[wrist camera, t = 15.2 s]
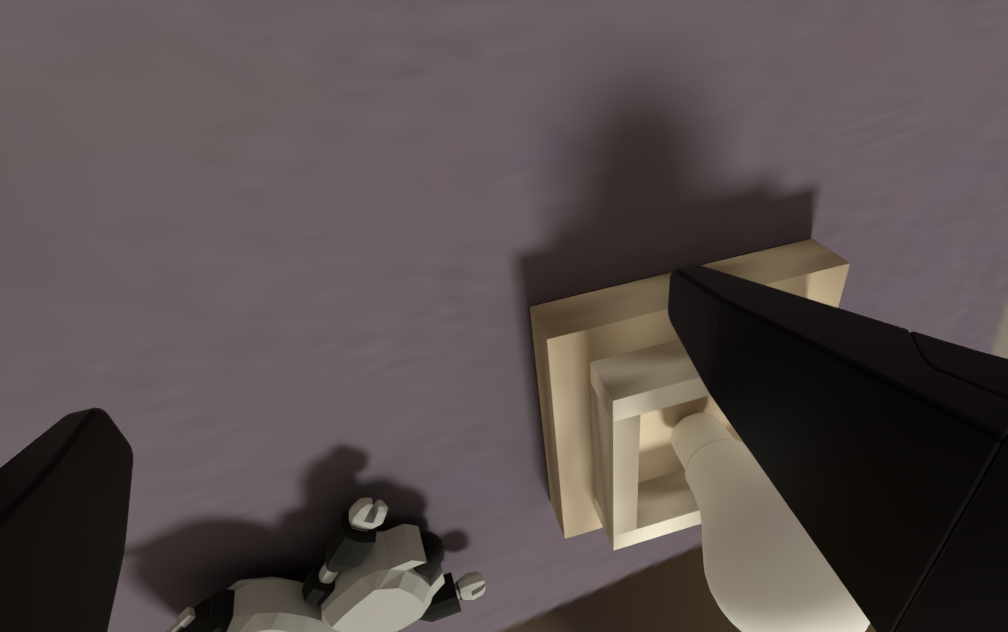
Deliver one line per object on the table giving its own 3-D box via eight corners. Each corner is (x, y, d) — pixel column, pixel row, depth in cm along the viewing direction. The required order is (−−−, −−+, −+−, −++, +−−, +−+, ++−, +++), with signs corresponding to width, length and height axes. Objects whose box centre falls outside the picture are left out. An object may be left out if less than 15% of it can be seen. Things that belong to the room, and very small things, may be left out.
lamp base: (550, 502, 34) (580, 580, 30) (529, 306, 26) (567, 378, 22) (766, 439, 36) (822, 504, 32) (811, 238, 27) (894, 292, 23)
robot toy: (361, 445, 29) (126, 610, 30) (372, 516, 25) (104, 702, 26) (485, 545, 36) (294, 676, 37) (507, 612, 33) (295, 755, 33)
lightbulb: (620, 472, 30) (739, 706, 21) (639, 381, 26) (792, 615, 17) (725, 454, 31) (881, 667, 22) (757, 365, 28) (956, 575, 19)
